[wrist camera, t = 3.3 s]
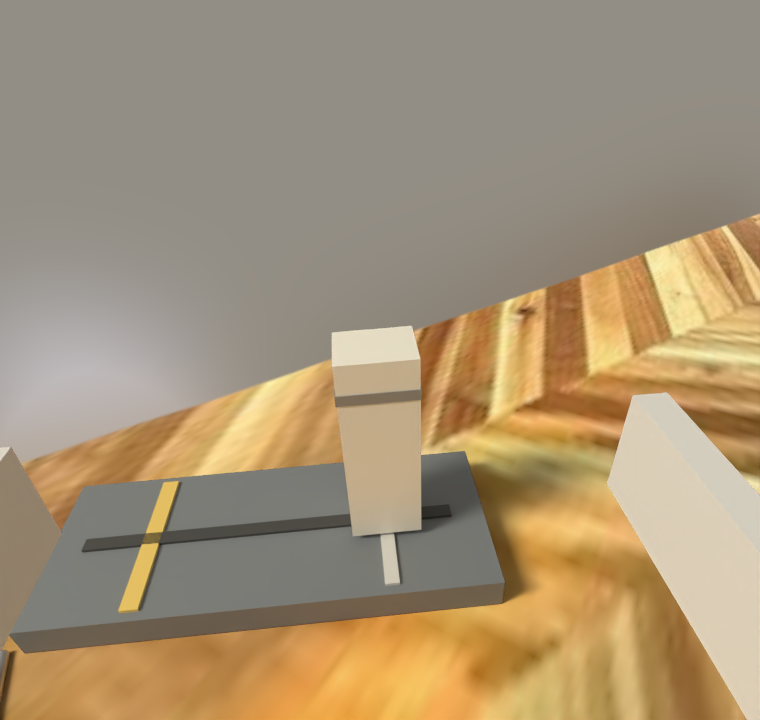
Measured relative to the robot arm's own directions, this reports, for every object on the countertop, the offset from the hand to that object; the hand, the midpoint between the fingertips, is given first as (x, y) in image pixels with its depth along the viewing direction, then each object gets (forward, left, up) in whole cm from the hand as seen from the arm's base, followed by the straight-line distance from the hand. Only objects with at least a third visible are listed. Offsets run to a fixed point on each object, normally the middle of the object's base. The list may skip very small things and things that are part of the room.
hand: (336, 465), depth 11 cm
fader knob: (-1, -12, -17) cm, 21 cm away
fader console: (+6, -12, -19) cm, 24 cm away
